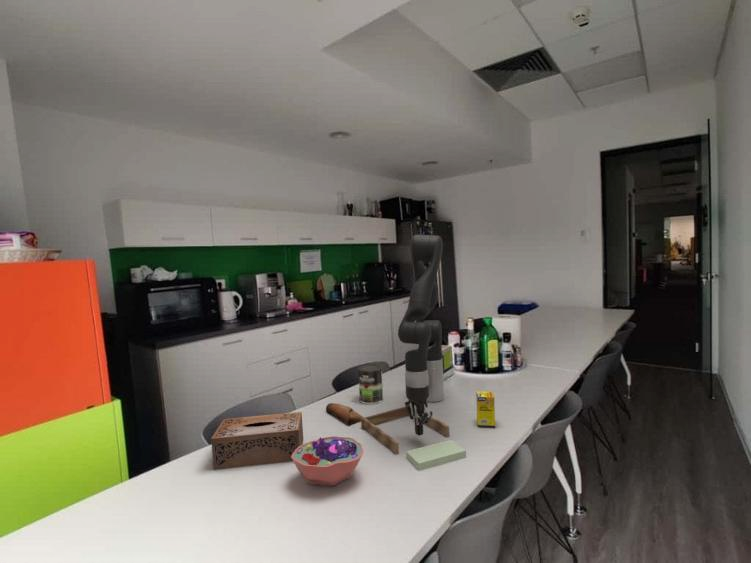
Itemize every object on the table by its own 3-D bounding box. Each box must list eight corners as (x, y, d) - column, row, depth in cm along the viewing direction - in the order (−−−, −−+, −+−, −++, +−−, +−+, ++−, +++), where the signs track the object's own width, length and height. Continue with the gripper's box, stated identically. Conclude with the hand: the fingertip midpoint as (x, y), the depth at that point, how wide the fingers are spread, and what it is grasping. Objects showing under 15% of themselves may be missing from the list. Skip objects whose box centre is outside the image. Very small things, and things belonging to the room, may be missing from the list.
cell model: (301, 464, 120) (298, 428, 119) (366, 462, 119) (364, 425, 118) (286, 498, 103) (283, 456, 102) (363, 496, 102) (360, 454, 101)
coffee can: (378, 405, 163) (376, 372, 162) (355, 403, 167) (353, 370, 166) (387, 396, 172) (385, 365, 171) (365, 394, 176) (363, 363, 175)
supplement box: (495, 428, 137) (494, 397, 136) (477, 427, 138) (476, 396, 137) (494, 420, 143) (493, 391, 142) (476, 420, 144) (475, 390, 143)
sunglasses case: (367, 419, 149) (359, 407, 147) (354, 433, 146) (346, 421, 144) (343, 406, 164) (335, 394, 162) (331, 418, 161) (322, 407, 159)
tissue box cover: (213, 470, 119) (211, 438, 118) (226, 447, 133) (223, 419, 133) (300, 461, 122) (298, 429, 121) (303, 439, 136) (301, 411, 136)
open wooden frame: (361, 427, 142) (360, 418, 142) (412, 413, 153) (411, 404, 153) (394, 454, 122) (394, 443, 122) (450, 435, 133) (450, 425, 133)
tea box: (436, 371, 204) (434, 343, 203) (454, 374, 198) (453, 345, 197) (421, 380, 192) (420, 350, 191) (440, 383, 186) (439, 352, 185)
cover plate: (406, 459, 120) (406, 451, 120) (451, 447, 126) (451, 439, 126) (419, 472, 113) (418, 463, 113) (466, 458, 119) (465, 450, 119)
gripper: (396, 379, 132) (398, 429, 134) (419, 391, 121) (421, 445, 122) (415, 375, 136) (417, 424, 137) (438, 386, 124) (441, 439, 126)
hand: (419, 434), depth 130 cm, fingers closed
